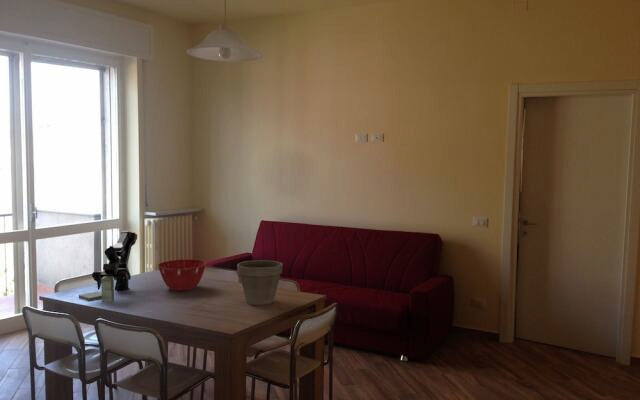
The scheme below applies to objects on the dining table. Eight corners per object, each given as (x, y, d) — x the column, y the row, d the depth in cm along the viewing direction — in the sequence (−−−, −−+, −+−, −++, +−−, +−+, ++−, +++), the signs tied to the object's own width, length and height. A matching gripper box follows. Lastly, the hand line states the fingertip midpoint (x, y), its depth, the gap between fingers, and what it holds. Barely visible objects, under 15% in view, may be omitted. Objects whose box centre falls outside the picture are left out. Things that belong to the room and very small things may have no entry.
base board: (97, 294, 321) (96, 291, 320) (107, 297, 314) (107, 294, 314) (78, 297, 312) (78, 295, 312) (89, 301, 305) (89, 298, 305)
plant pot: (254, 294, 322) (254, 257, 320) (290, 299, 310) (290, 261, 309) (228, 304, 300) (228, 265, 298) (266, 310, 288) (266, 269, 287)
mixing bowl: (183, 296, 317) (183, 269, 316) (148, 290, 331) (147, 264, 330) (215, 286, 341) (215, 262, 340) (181, 281, 355) (181, 257, 354)
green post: (105, 299, 310) (104, 276, 309) (114, 299, 310) (113, 276, 309) (101, 301, 305) (101, 278, 304) (110, 301, 305) (110, 278, 304)
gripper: (92, 257, 309) (85, 281, 299) (126, 257, 309) (120, 281, 299) (98, 268, 317) (91, 292, 307) (130, 268, 318) (125, 292, 308)
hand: (106, 289), depth 305 cm, fingers open, 9 cm apart
